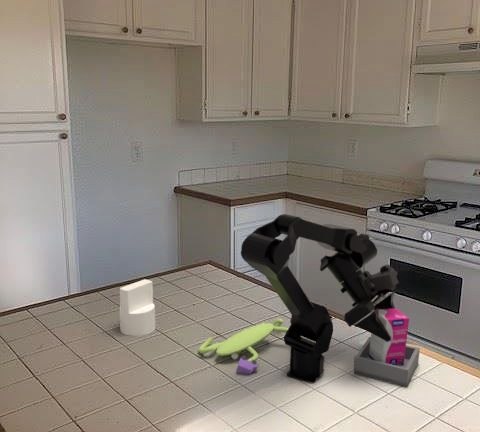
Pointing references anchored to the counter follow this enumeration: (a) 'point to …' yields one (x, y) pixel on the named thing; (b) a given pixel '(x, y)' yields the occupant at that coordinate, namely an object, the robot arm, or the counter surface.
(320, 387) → the counter surface
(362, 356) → the bin
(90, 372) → the counter surface
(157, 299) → the counter surface
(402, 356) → the supplement box
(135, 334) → the base with upright slab
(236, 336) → the figurine
